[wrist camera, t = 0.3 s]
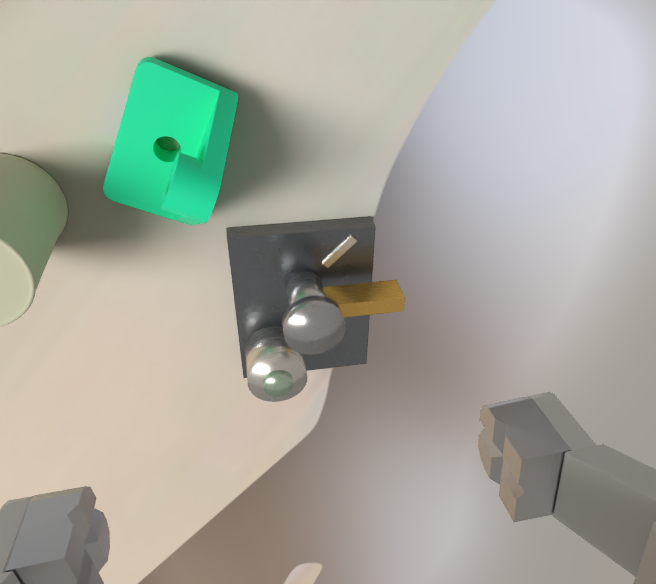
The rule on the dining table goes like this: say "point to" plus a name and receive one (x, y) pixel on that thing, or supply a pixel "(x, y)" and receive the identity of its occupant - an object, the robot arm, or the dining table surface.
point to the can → (26, 231)
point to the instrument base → (272, 299)
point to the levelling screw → (331, 309)
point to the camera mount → (186, 128)
